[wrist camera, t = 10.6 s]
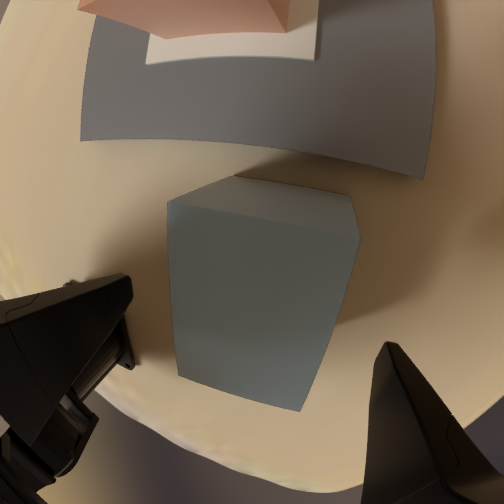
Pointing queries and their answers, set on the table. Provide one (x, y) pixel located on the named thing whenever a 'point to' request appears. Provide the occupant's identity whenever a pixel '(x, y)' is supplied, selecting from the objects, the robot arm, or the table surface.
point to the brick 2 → (258, 284)
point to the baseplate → (276, 84)
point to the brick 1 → (194, 15)
